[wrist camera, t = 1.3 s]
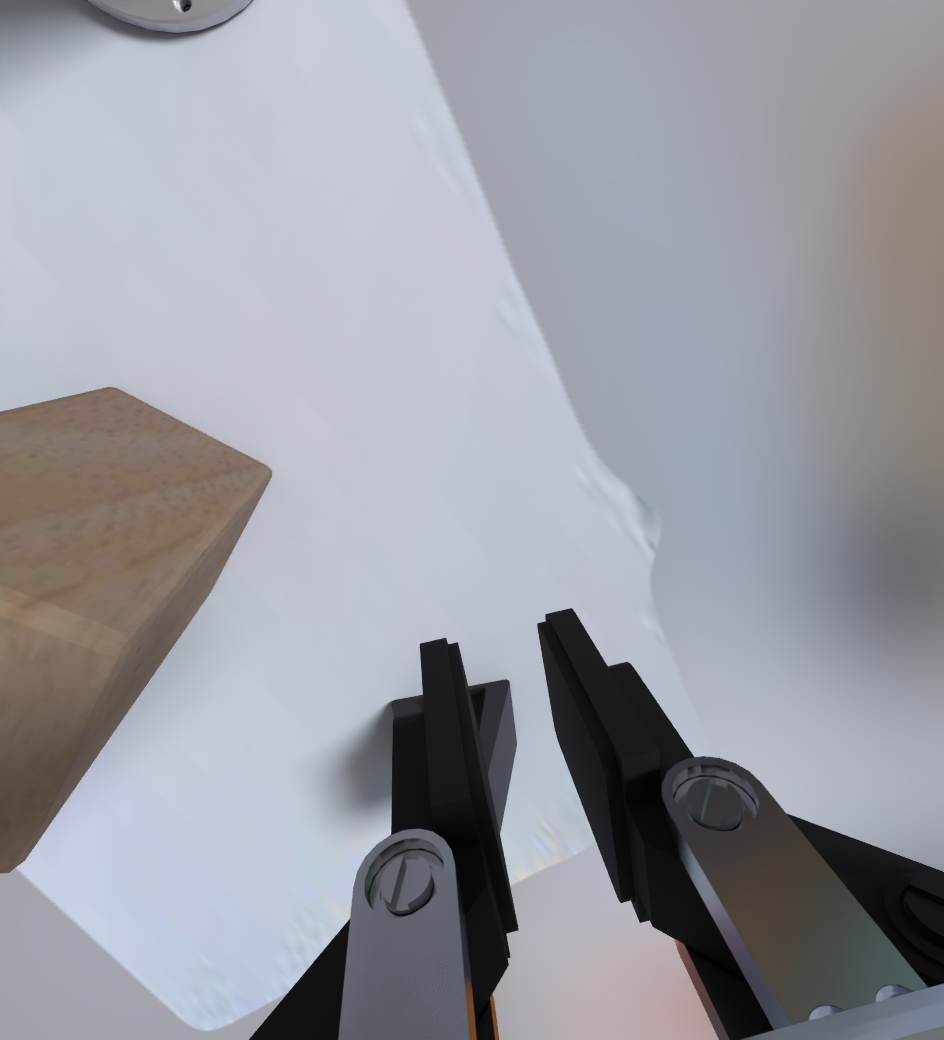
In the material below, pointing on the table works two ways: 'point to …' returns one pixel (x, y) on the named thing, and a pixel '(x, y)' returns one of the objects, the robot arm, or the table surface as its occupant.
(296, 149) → the table surface
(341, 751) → the table surface
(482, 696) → the phone stand
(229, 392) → the table surface
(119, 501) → the wooden block
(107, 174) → the table surface
